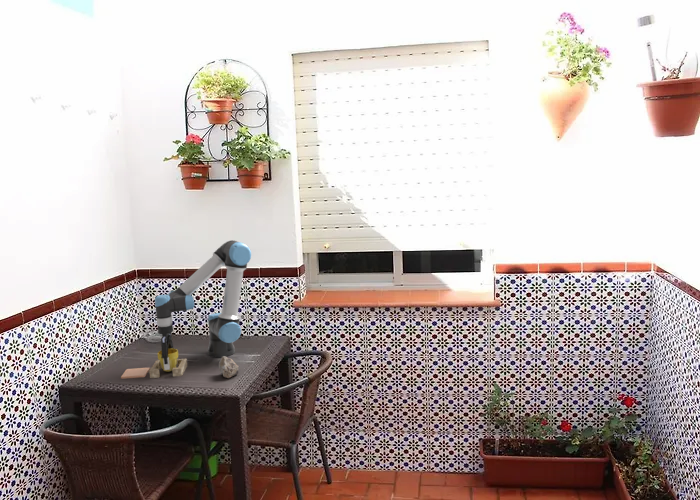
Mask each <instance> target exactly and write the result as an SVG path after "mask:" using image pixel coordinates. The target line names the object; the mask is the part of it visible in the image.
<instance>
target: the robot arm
mask: <svg viewBox="0 0 700 500" xmlns="http://www.w3.org/2000/svg"><path fill="white" fill-rule="evenodd" d="M251 258H252V251H251V249H250V247H249V246H248V245H246V244H245V243H244V242H241V241H237V240H228V241H226V242H224V243H223V244H221V245H220V246H219V247H218V248H216V250H215V251H214V252H212V256H211V257H210V258H209V259H208V260H207V261H206V262H204V263H203V264H202V265H201V266H200V267H199V268H198V269H196V271H195V272H194V273H192V274H191V275H190V276H189V277H188V278H187V279H186V280H185V281H184V282H182V283H181V285H180V286H178V287H177V288H176V289H175V290H171V291H169V292H168V294H160V295H157V296H155V297H154V307H155V308H154V309H155V314H156V315H155V316H156V319H155V321H156V323H157V324H156V325H157V332H158V334H159V335H162V336H161V339H160V345H161V350H162V357H161V358H163V362H164V370H170V365H169V357H168V349H171V348H172V349H175V348H174V343H173V338H172V333H173V332H174V326H173V317H172V313H177V312H183V311H190V310H193V309H194V307H195V300H194V296H193V295H192V294H194V293H195V292H196V291H197V289H199V288H200V287H201V286H202V285H204V283H205V282H207V281H208V280H209V279H210V278H211V277H212V276H214V274H215V273H216V272H218V271H219V270H220V269H221V268H222V267H225V268H226V277H225V285H224V291H223V293H224V294H223V299H222V308H221V312H217V313H216V312H215V313H211V314H209V315H208V316H207V319H208V320H207V323H208V333H209V334H208V335H209V344H208V347H207V356H208V357H212V358H222V357H223V356H225V357H230V356H232V355H233V354H235V353H236V348H235V345H234V342H236V341H237V340H238V339H240V337H241V334H242V328H241V325H240V321H241V320H240V319H241V317H240V316H239V314H238V313H239V307H240V305H239V304H240V298H241V292H242V284H243V277H244V271H245V270H247V267H248V263H249V262H250V261H251ZM164 355H165V356H164Z"/></svg>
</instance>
